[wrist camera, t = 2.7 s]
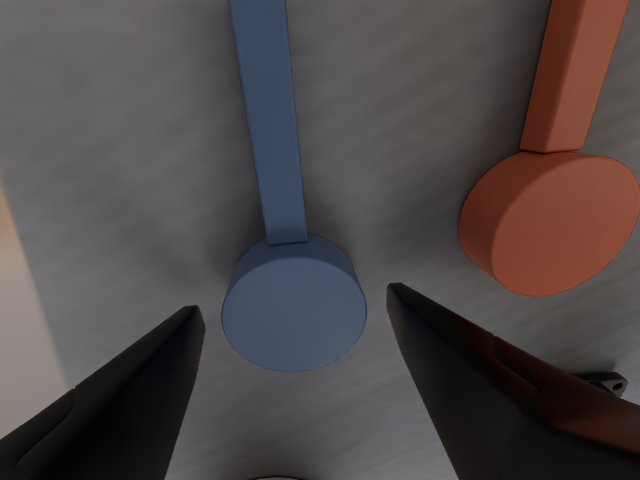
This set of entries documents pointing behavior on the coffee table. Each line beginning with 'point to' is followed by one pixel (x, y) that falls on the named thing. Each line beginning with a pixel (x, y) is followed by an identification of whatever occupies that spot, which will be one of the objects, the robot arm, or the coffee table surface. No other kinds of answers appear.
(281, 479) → the coffee cup
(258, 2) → the blue spoon
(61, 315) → the coffee table surface
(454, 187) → the coffee table surface
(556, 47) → the terracotta spoon
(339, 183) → the coffee table surface
